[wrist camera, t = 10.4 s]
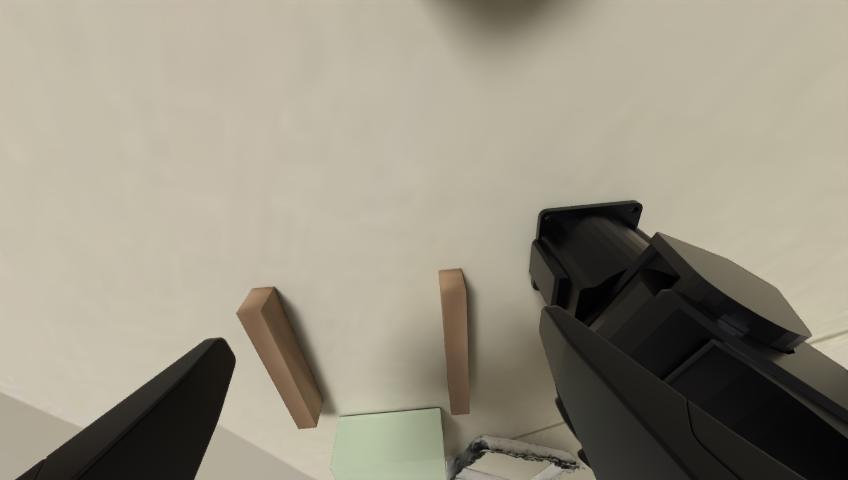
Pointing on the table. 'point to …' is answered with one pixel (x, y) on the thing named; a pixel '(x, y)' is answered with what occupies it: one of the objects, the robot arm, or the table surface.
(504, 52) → the table surface
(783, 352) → the robot arm
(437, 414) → the block
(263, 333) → the chute rails
